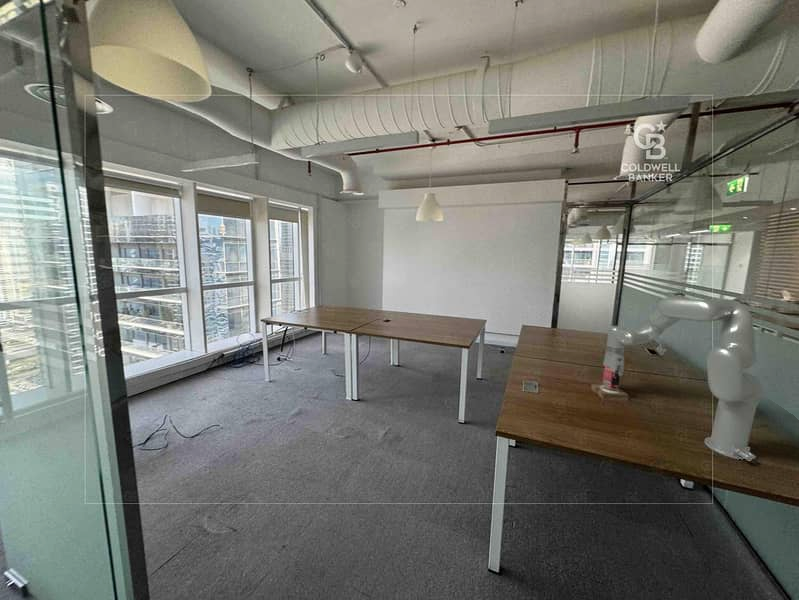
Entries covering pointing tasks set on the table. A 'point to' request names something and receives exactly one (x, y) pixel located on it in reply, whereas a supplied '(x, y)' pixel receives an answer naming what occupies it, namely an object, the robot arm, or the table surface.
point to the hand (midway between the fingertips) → (610, 381)
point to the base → (609, 393)
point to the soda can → (608, 378)
